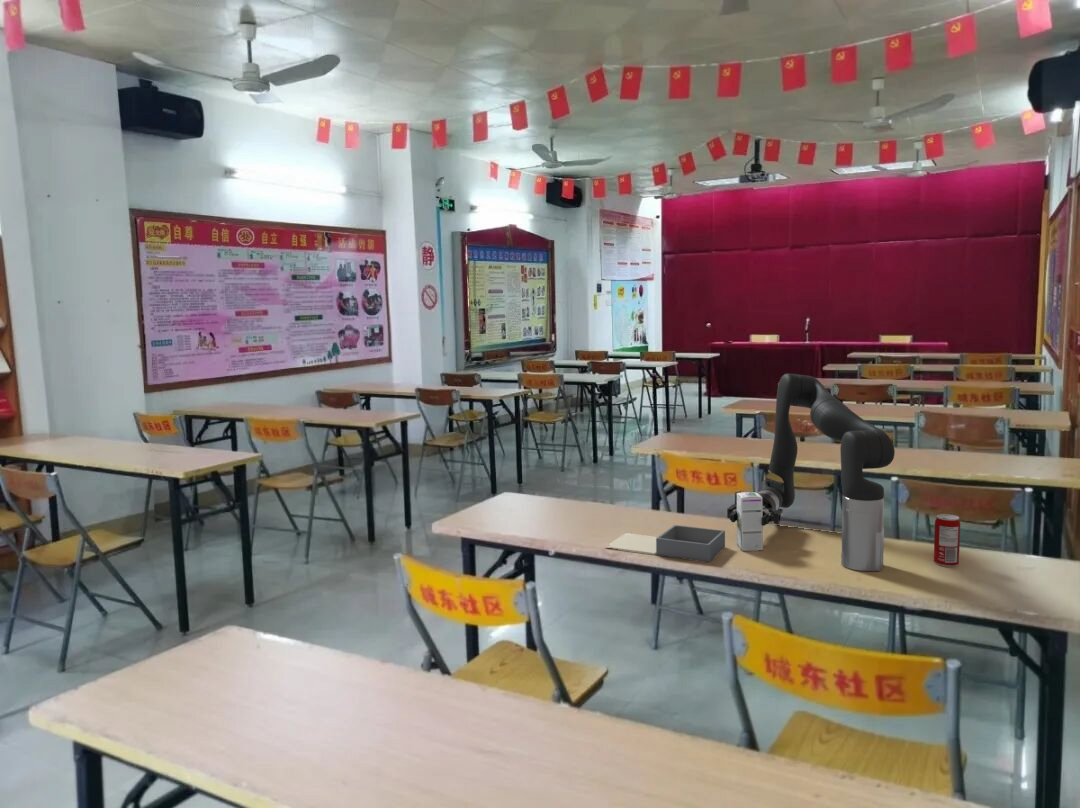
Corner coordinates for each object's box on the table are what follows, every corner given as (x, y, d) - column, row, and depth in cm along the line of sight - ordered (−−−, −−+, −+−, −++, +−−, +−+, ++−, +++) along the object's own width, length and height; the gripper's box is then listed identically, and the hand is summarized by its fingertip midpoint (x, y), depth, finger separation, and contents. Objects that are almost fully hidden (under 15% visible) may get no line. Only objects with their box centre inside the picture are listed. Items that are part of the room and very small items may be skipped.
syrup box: (763, 551, 205) (764, 496, 203) (740, 551, 205) (741, 497, 203) (757, 544, 211) (758, 491, 209) (735, 545, 211) (736, 492, 209)
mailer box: (724, 547, 209) (725, 530, 208) (709, 562, 197) (709, 544, 196) (625, 534, 223) (625, 519, 222) (605, 548, 211) (605, 531, 210)
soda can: (946, 559, 195) (947, 511, 194) (964, 565, 190) (966, 517, 188) (928, 561, 193) (929, 514, 192) (945, 568, 188) (947, 519, 187)
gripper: (737, 490, 222) (720, 503, 208) (789, 495, 215) (775, 508, 201) (737, 516, 223) (720, 531, 209) (789, 521, 216) (775, 537, 202)
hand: (747, 520), depth 205 cm, fingers closed on syrup box, 7 cm apart
